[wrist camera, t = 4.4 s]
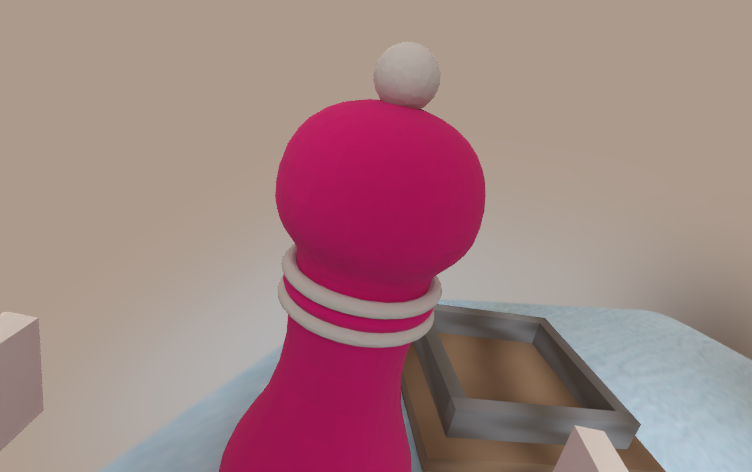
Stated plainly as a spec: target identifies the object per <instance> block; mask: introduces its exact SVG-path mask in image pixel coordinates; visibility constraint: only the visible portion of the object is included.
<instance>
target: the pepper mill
mask: <svg viewBox="0 0 752 472" xmlns="http://www.w3.org/2000/svg"><path fill="white" fill-rule="evenodd" d="M374 83H375V89H376V91H377V93H378V95H379V97H380V99H381V100H371V99H370V100H356V101H348V102H342V103H339V104H336V105H332V106H329V107H327V108H325V109H323V110H322V111H320V112H318V113H316V114H315V115H313V116H311V117H309V119H307V120H306V121H305V122H304V123H303V124H302V125H301V126H300V127H299V128H298V130H297V131H296V133H295V134H294V135H293V137H292V138H291V140H290V141H289V143H288V145H287V147H286V150H285V152H284V155H283V157H282V160H281V162H280V165H279V170H278V175H277V181H276V195H275V196H276V204H277V209H278V213H279V216H280V219H281V221H282V223H283V226H284V228H285V229H286V231H287V232H288V234H289V235H290V237H291V238H292V239H293V241H294V242H295V244H294V245H292V246H291V248H289V249H288V250H287V251H286V253H285V254H284V256H283V259H282V270H283V272H284V275H283V277H282V278H281V280H280V282H279V285H278V297H279V300H280V303H281V305H282V307H283V308H284V310H285V311H286V312H287V313H288V324H287V333H286V337H285V341H284V345H283V349H282V353H281V357H280V361H279V363H278V365H277V367H276V369H275V371H274V374H273V376H272V378H271V380H270V382H269V384H268V385H267V387H266V388H265V389H264V391H263V392H262V393H261V394H260V395H259V396H258V398H257V399H256V400H255V401H254V403H253V404H252V405H251V406H250V408H249V409H248V410H247V412H246V413H245V414H244V416H243V417H242V418H241V420H240V421H239V423H238V424H237V426H236V428H235V430H234V432H233V434H232V436H231V438H230V440H229V442H228V444H227V446H226V449H225V451H224V453H223V457H222V461H221V465H220V469H219V472H411V454H410V448H409V444H408V439H407V434H406V430H405V425H404V420H403V414H402V408H401V375H402V371H403V366H404V362H405V358H406V354H407V351H408V349H409V347H410V344H411V342H413V341H416V340H418V339H420V338H421V337H422V336H424V335H425V334H426V333H427V332H428V331H429V330H430V328H431V327H432V325H433V321H434V309H433V308H434V306H436V305H437V304H438V302H439V299H440V297H441V293H442V289H441V283H440V281H439V279H438V278H437V276H436V275H437V274H439V273H440V272H442V271H444V270H445V269H447V268H448V267H450V266H452V265H453V264H455V263H456V262H457V261H458V260H460V259H461V258H462V257H463V256H464V255H465V254H466V253H467V251H468V250H469V249H470V248H471V246H472V245H473V243H474V241H475V238H476V236H477V234H478V231H479V229H480V226H481V222H482V217H483V213H484V206H485V181H484V176H483V171H482V167H481V165H480V162H479V160H478V157H477V155H476V153H475V152H474V150H473V148H472V147H471V145H470V144H469V142H468V141H467V140H466V139H465V138H464V137H463V136H462V135H461V134H460V133H459V132H458V131H457V130H456V129H455V128H454V127H452V126H451V125H449V124H447V123H446V122H445V121H443V120H442V119H440V118H438V117H436V116H434V115H432V114H430V113H428V112H426V111H424V110H422V109H421V108H423V107H425V106H426V105H427V104H428V103H429V102H430V101H431V100H432V99H433V98H434V96H435V94H436V92H437V90H438V87H439V84H440V71H439V66H438V62H437V61H436V59H435V57H434V56H433V54H432V53H431V52H430V51H429V50H428V49H427V48H425V47H424V46H422V45H419V44H417V43H411V42H404V43H399V44H396V45H394V46H391V47H390V48H389V49H388V50H386V51H385V52H384V53H383V54H382V56H381V58H380V59H379V61H378V62H377V64H376V68H375V72H374Z"/></svg>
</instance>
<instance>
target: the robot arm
mask: <svg viewBox="0 0 752 472" xmlns="http://www.w3.org/2000/svg"><path fill="white" fill-rule="evenodd" d="M42 411H43V392H42V374H41V355H40V337H39V319H38V318H36V317H32V316H27V315H22V314H17V313H12V312H6V311H5V312H4V313H2V314H0V451H1V450H2V449H3V448H4V447H5V446H6V445H7V444H8V443H9V442H10V441H11V440H13V439H14V438H15V437H16V436H17V435H18V434H19V433H20V432H21V431H22V430H23V429H24V428H25V427H26V426H27V425H28V424H29V423H30V422H32V421H33V420H34V419H35V418H36V417H37V416H38V415H39V414H40V413H41V412H42ZM553 472H629V471H628V470H627V468H626V466H625V465H624V463H623V461H622V460H621V458H620V456H619V455H618V453H617V451H616V450H615V448H614V447H613V445H612V443H611V442H610V440H609V438H608V437H607V435H606V433H605V432H604V431H601V430H596V429H591V428H586V427H581V426H576V425H574V427H573V430H572V432H571V434H570V436H569V438H568V440H567V442H566V445H565V447H564V449H563V451H562V453H561V455H560V457H559V460H558V462H557V464H556V466H555V468H554V470H553Z"/></svg>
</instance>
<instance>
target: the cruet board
mask: <svg viewBox="0 0 752 472" xmlns="http://www.w3.org/2000/svg"><path fill="white" fill-rule="evenodd" d="M433 309H434V321H433V325H432V327H431V328H430V330H429V331H428V332H427V333H426V334H425V335H424V336H422V337H421V338H420V339H418V340H416V341H413V342H411V344H410V347H409V349H408V351H407V354H406V358H405V362H404V366H403V371H402V375H401V390H402V394H403V398H404V402H405V406H406V409H407V413H408V417H409V421H410V425H411V428H412V432H413V436H414V440H415V444H416V447H417V451H418V455H419V459H420V463H421V466H422V470H423V472H553V470H554V468H555V466H556V464H557V462H558V460H559V457H560V455H561V453H562V451H563V449H564V447H565V445H566V442H567V440H568V438H569V436H570V434H571V432H572V430H573V427H574V425H576V426H581V427H586V428H591V429H596V430H601V431H604V432H605V433H606V435H607V437H608V438H609V440H610V442H611V443H612V445H613V447H614V448H615V450H616V451H617V453H618V455H619V456H620V458H621V460H622V461H623V463H624V465H625V466H626V468H627V470H628V471H629V472H665V470H664V469H663V468H662V467H661V465H660V464H659V463H658V462H657V461H656V460H655V458H654V457H653V456H652V455H651V454H650V453H649V451H648V450H647V449H646V448H645V447H644V446H643V444H642V443H641V442H640V441H639V440H638V439H637V437H636V436H635V434H636V432H637V431H638V429H639V427H640V425H641V424H640V423H639V422H638V421H637V420H636V419H635V418H634V416H633V415H632V414H631V413H630V412H629V411H628V410H627V409H626V408H625V406H624V405H623V404H622V403H621V402H620V401H619V400H618V399H617V398H616V396H615V395H614V394H613V393H612V392H611V391H610V390H609V389H608V388H607V386H606V385H605V384H604V383H603V382H602V381H601V380H600V379H599V378H598V376H597V375H596V374H595V373H594V372H593V371H592V370H591V369H590V368H589V367H588V365H587V364H586V363H585V362H584V361H583V360H582V359H581V358H580V357H579V355H578V354H577V353H576V352H575V351H574V350H573V349H572V348H571V347H570V345H569V344H568V343H567V342H566V341H565V340H564V339H563V338H562V337H561V335H560V334H559V333H558V332H557V331H556V330H555V329H554V328H553V327H552V325H551V324H550V323H549V322H548V321H547V320H546V319H545V318H540V317H532V316H524V315H517V314H509V313H501V312H493V311H486V310H478V309H470V308H463V307H455V306H447V305H439V304H437V305H436V306H434V308H433Z"/></svg>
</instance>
